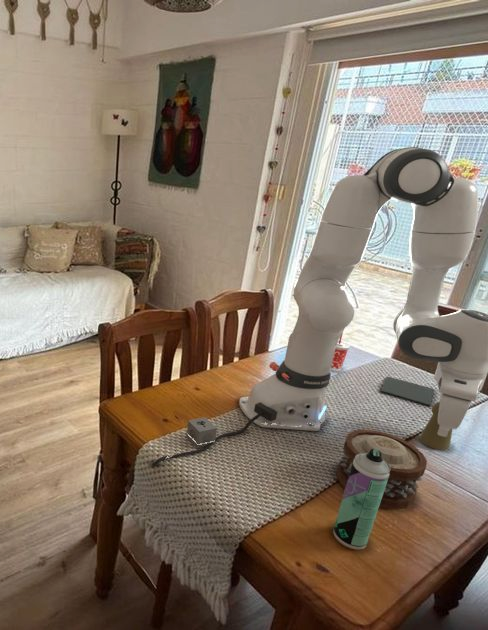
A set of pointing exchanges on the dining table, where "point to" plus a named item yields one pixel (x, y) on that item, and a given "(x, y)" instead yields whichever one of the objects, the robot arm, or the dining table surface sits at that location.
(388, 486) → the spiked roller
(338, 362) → the beverage cup
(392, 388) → the plate
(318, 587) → the dining table surface
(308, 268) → the robot arm
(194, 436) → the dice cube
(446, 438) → the olive tapered cylinder
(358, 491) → the spray can
